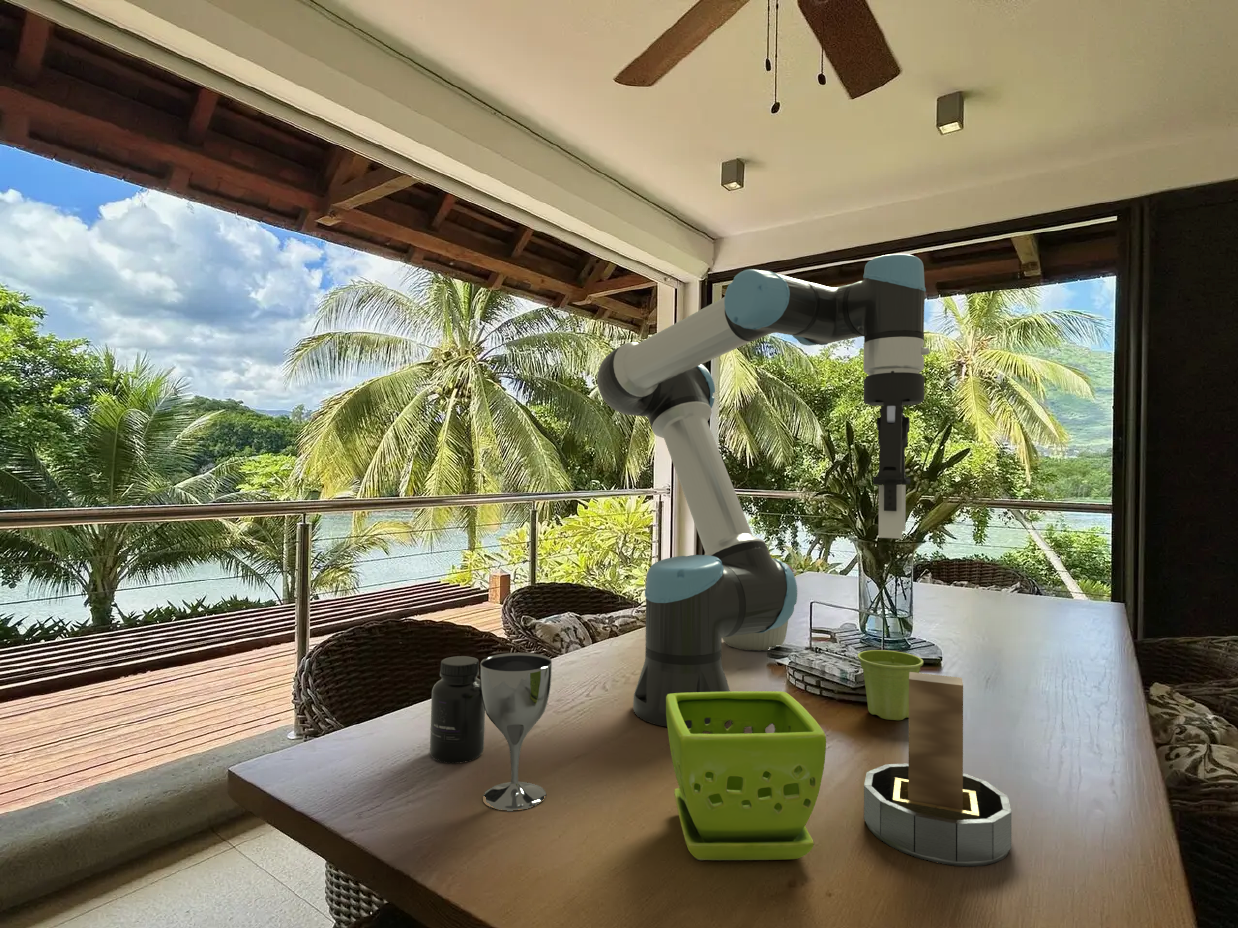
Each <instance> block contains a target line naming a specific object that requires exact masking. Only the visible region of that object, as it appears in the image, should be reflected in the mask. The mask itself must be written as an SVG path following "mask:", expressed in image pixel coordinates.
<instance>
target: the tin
mask: <svg viewBox="0 0 1238 928" xmlns="http://www.w3.org/2000/svg"><path fill="white" fill-rule="evenodd" d="M908 772H909V763H890V764H889V763H886V764H884V765H881V766H878V767H876V768H874V769H871V770H869V771H866V775H865V779H864V784H863V787H864V788H863V820H864V821H865V825H866V826H867V829H869V831H870V832H871V833H872V835H874V836H875V837H876V838H877V839H878V840H880V841H881V842H882V841H883V843H884V844H886V845H887V846H889V847H891V848H892V849H894V848H895V849H894V850H896V851H898V850H899V851H898V852H901V853H903V854H905V855H907V856H908V855H909V856H910V855H911V856H910V857H913V856H914V858H916V859H920V860H923V859H924V860H923V861H926V860H928V861H927V862H930V861H933V862H932V863H934V862H938V863H937V864H940V863H942V864H941V865H945V864H947V865H946V866H953V865H954V867H981V866H982V867H983V866H988V865H992V864H995V863H998V862H1001V861H1002V860H1003V859H1005V858H1006V857H1007V856H1008V854H1009V852H1010V850H1011V849H1012V809H1011V808H1012V807H1011V805H1010V801H1009V796H1008V795H1007V794H1005V793H1004V792H1003V791H1001V790H999V789H998V788H997V787H995V786H994V785H992V784H990V783H989V782H988V781H987V780H985V779H981V778H978V777H976V776H972V775H970V774H968V773H965V772H963V810H959V809H954V808H948V807H943V806H937V805H932V804H927V803H921V802H916V801H910V800H908Z"/></svg>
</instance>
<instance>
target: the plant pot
mask: <svg viewBox="0 0 1238 928" xmlns="http://www.w3.org/2000/svg"><path fill="white" fill-rule="evenodd" d="M857 659H858V660H859V662H860V666H861V670H862V672H863V679H864V686H865V693H866V702H867V710H868V712H869V714H870V715H873V716H875V715H876V716H878V717H879V718H880V719H883V720H887V721H888V720H890V721H903V720H904V719H906V718H908V719H909V673H910V672H916V673H920V670H921V667H922V666H923V665H924V660H923V659H922V657H919V656H917V655H915V654H912V653H911V654H910V653H907V652H904V651H903V652H902V651H894V650H886V649H885V650H883V649H874V650H873V649H872V650H870V649H869V650H865V651H861V652H859V653H857Z"/></svg>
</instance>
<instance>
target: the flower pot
mask: <svg viewBox="0 0 1238 928" xmlns="http://www.w3.org/2000/svg"><path fill="white" fill-rule="evenodd" d="M666 718H667V734H668V735H667V736H668V743H669V749H670V754H671V756H670V757H671V760H672V761H671V762H672V766H673V770H674V771H673V772H674V774H675V777H676V780H677V784H678V788H674V792H673V793H674V799H675V804H676V808H677V814H678V817H679V822H680V826H681V830H682V834H683V838H684V842H685V845H686V846H687V850H688V851H689V852H690V854H691V855H692V856H693V857H694V859H695V860H697V861H769V860H770V861H773V860H776V861H777V860H778V861H779V860H796V859H797V860H799V859H800V858H801V859H802V857H805V856H806V855H808V854H809V853H810V852H811V851H812V850H813V848H814V845H815V843H814V840H813V838H812V836H811V834H810V832H809V830H808V828H807V827H806V824H807V823H808V821H809V820H810V817H811V815H812V813H813V811H814V808H815V805H816V802H817V800H818V796H819V792H820V789H821V783H822V779H823V774H824V769H825V763H826V762H825V760H826V751H827V737H826V736H827V735H826V733H825V731H824V730H823V728H822V727H821V726H820V724H819V723H818V722H817V720H816V719H815V718H814V717H813V716H812V714H810V713H809V711H808V710H807V709H806V708H805V707H804V706H803V705H802V704H801V703H800V702H799V701H797V700H796V699H795V698H794V697H793V696H791V694H789V693H787V692H786V691H779V690H777V691H773V690H772V691H769V690H767V691H766V690H765V691H762V690H761V691H760V690H759V691H755V690H754V691H753V690H750V691H749V690H747V691H740V690H739V691H730V692H691V693H672V694H668V695H667V696H666ZM706 718H710V723H709V724H705V719H706ZM687 720H690V721H691V724H692V725H691V728H687V726H686V724H685V721H687ZM729 721H730V722H731V725H730V726H729V727H728V728H726V725H725V724H726V723H727V722H729ZM770 725H773V727H774V732H767V731H766V729H767V728H768V727H769V726H770ZM749 727H750V728H751V733H745V729H746V728H749ZM704 732H708V733H704Z"/></svg>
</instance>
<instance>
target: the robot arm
mask: <svg viewBox="0 0 1238 928" xmlns="http://www.w3.org/2000/svg"><path fill="white" fill-rule="evenodd" d="M862 276H863V279H862V280H859V281H857V282H854V283H851V284H847V285H846V284H845V285H841V286H837V287H831V286H826V285H823V284H819V283H815V282H810V281H806V280H803V279H798V278H793V277H790V276H787V275H783V274H778V273H776V272H773V271H771V270H759V269H754V268H753V269H752V268H751V269H750V268H749V269H744V270H743V271H740V272H738V273H737V274H736V275H735V276H734V277H733V280H732V282H731V283H729V284H728V286H727V287H726V290H725V294H724V297H722V298H720V299H718V300H716V301H714V302H713V303H711V304H708V305H707V306H705V307H703V308H702V309H699V310H698V311H696V312H694V313H692V314H691V315H688V316H687V317H685V318H683V319H681V320H679V321H677V322H675V323H674V324H672V325H670V326H668V327H666V328H665V329H662V330H661V331H659V332H657V333H655V334H654V335H651V336H650V337H648V338H646V339H644V340H642V341H640V342H635V341H632V342H630V341H629V342H626V343H624V344H622V345H620V346H619V347H617V348H615V349H613V350H612V351H611V352H610V353H608V354H607V355H606V357H604V359H603V360H602V361H601V362H600V363H601V364H600V365H599V368H598V372H597V379H596V380H597V381H596V383H597V390H598V391H599V394H600V396H601V398H602V400H603V401H604V402H605V403H606V404H607V406H609V407H610V408H611V409H612V410H614V411H616V412H618V413H620V414H622V415H627V416H635V417H646V418H647V419H648V421H649V422H648V423H649V424H650V427H651V430H652V433H653V434H654V435H655V436H657V437H659V438H663V439H664V442H665V446H666V447H667V450H668V453H669V456H670V459H671V461H672V464H673V467H674V469H675V473H676V475H677V478H678V480H679V484H680V487H681V490H682V493H683V495H684V497H685V502H686V504H687V506H688V509H689V511H690V515H691V517H692V519H693V523H694V525H695V528H696V530H697V534H698V536H699V539H700V543H701V545H702V547H703V550H704V554H693V555H690V554H689V555H680V556H679V555H678V556H672V557H667V558H664V559H661V560H657V561H656V562H654V563H653V564H652V565H651V566H650V567H649V569H648V570H647V575H646V584H645V590H644V596H645V645H644V646H645V652H644V653H645V654H644V655H645V657H644V663H643V667H642V669H641V672H640V675H639V679H638V681H637V684H636V687H635V690H634V694H633V698H632V701H633V702H632V704H633V705H632V707H633V709H632V710H634V711H633V713H634V712H635V713H634V715H635V714H636V715H637V716H636V717H637V718H639V717H640V718H639V719H640V720H642V719H643V720H642V721H644V720H645V722H647V723H650V724H653V725H657V726H661V727H667V718H666V696H667V695H668V694H672V693H691V692H731V691H730V686H729V684H728V680H727V677H726V673H725V670H724V667H723V664H722V640H723V639H722V638H724V637H731V636H737V635H743V634H750V633H763V632H766V631H768V630H771V629H775V628H778V627H780V626H782V625H783V624H785V623H786V622H787V621H788V622H789V620H790V618H791V617H792V616H793V613H794V611H795V606H796V604H797V601H798V584H797V580H796V577H795V575H794V574H793V572H792V570H791V569H790V568H789V566H788V565H789V564H788V565H787V563H786V562H783V561H782V560H780V559H778V558H772V556H771V554H770V552H769V549H768V546H767V544H766V542H765V540H763V539H761V538H758V537H756V536H755V535H753V534H752V531H751V529H750V526H749V523H748V521H747V518H746V516H745V513H744V511H743V508H742V505H741V503H740V501H739V497H738V496H737V493H736V490H735V488H734V485H733V483H732V480H731V478H730V475H729V473H728V470H727V468H726V464H725V463H724V460H723V458H722V456H721V452H720V450H719V448H718V447H719V446H718V445H717V443H716V439H715V438H714V434H713V432H712V430H711V427H710V425H709V422H708V421H709V420H710V418H711V416H712V408H713V406H714V402H715V396H713V395H714V394H715V392H716V388H715V382H714V379H713V377H712V374H711V372H710V371H709V370H708V368H707V367H706V366H705V365H704V364H705V363H707V362H710V361H712V360H715V359H716V358H718V357H721V356H723V355H725V354H728V353H729V352H731V351H735V350H736V349H738V348H742V347H743V346H744V345H748V344H749V343H751V342H755V341H758V340H759V339H762V338H764V337H767V336H768V335H771V334H776V333H777V334H781V335H782V334H783V335H788V336H792V337H793V338H794V339H796V341H798V343H799V344H801V345H802V346H808V347H809V346H817V345H818V346H826V345H828V344H831V343H835V342H841V341H845V340H851V339H855V338H861V337H863V338H864V339H863V362H862V363H863V367H862V368H863V369H862V370H863V372H864V373H865V374H866V375H867V376H866V377H864V379H863V402H864V404H866V405H868V406H872V407H873V406H874V407H880V408H879V414H880V417H877V418H876V430H877V442H878V443H877V444H878V445H879V456H878V457H879V458H878V459H879V460H878V472H877V476H872V485H875V486H876V485H878V538H879V539H882V538H883V539H898V540H899V539H901V540H902V539H903V532H906V506H907V505H906V504H907V502H906V497H907V495H906V493H907V492H906V490H907V489H906V487H907V486H906V485H911V477H910V476H909V477H907V473H906V453H905V451H906V450H905V449H906V448H907V447H908V444H909V443H908V442H909V437H908V435H909V432H910V426H911V425H910V424H911V423H910V421H911V419H910V416H906V415H905V413H904V406H913V405H914V406H915V405H919V404H922V403H924V400H925V377H924V376H923V374H922V373H921V372H922V371H924V369H925V358H924V356H926V355H927V356H928V355H929V354H930V349H929V347H924V345H925V341H924V340H925V333H924V332H925V299H926V292H927V288H926V287H925V286H926V285H925V269H924V263H923V261H922V259H920V258H919V257H918V256H914V255H912V254H907V253H893V254H885V255H884V254H883V255H881V256H876V257H874V258H872V259H871V260H869V261H867V263H865V266H864V273H863V275H862ZM709 723H710V718H706V719H705V724H709ZM685 724H686V726H687V728H688V729H690V728H691V725H692V724H691V721H690V720H687V721H685Z"/></svg>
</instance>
